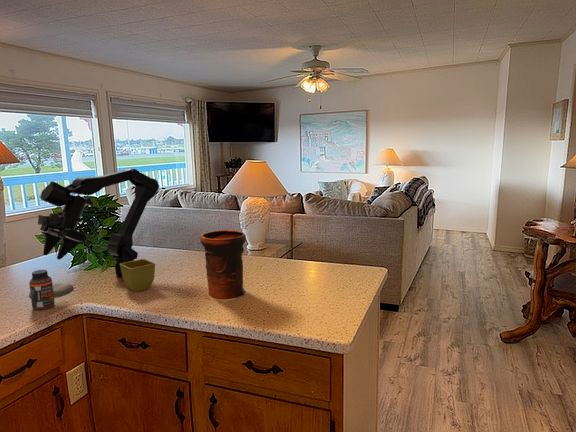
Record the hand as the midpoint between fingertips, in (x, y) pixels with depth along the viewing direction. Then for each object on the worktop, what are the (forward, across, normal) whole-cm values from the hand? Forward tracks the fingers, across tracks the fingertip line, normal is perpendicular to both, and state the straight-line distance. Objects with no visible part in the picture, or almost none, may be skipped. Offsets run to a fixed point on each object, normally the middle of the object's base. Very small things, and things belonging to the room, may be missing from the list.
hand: (51, 257), depth 132 cm
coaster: (+11, -5, +8) cm, 14 cm away
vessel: (-5, +46, +34) cm, 58 cm away
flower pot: (+2, +18, +23) cm, 29 cm away
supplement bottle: (+15, +7, +1) cm, 16 cm away
